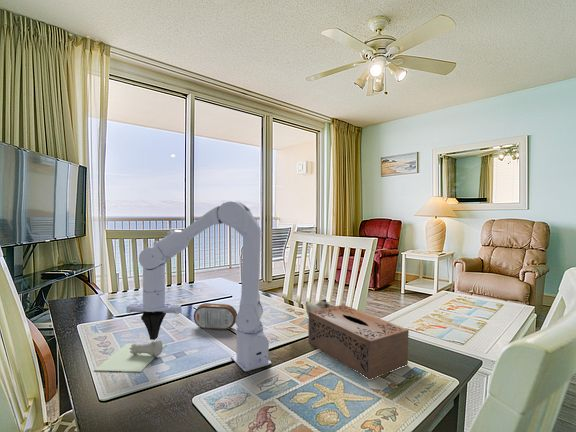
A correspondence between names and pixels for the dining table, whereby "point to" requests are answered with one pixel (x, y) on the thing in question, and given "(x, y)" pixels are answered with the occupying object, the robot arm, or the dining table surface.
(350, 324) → the tissue box cover
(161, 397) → the dining table surface
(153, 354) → the rook chess piece
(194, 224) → the robot arm
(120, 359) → the mat
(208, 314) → the tin
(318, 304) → the ceramic sculpture
